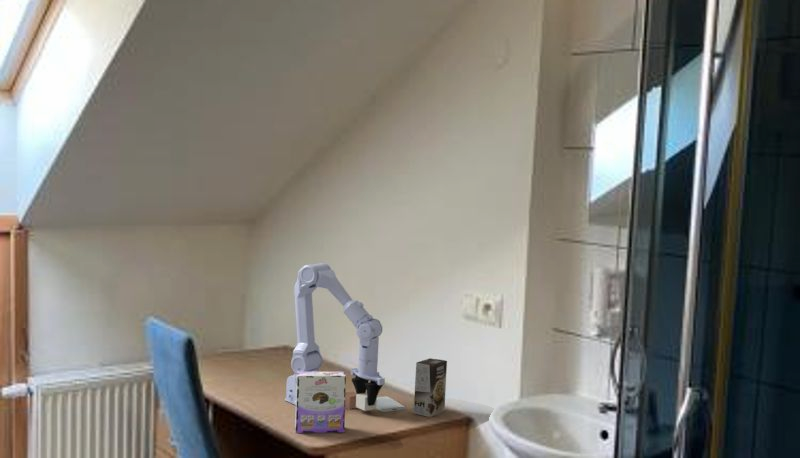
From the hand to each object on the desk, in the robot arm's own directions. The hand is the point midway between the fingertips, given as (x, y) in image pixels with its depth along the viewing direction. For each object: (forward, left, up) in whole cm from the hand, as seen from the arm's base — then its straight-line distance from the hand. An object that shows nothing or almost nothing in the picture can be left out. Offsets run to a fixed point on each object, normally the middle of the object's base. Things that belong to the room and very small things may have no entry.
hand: (366, 403), depth 260 cm
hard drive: (+10, +3, -4) cm, 11 cm away
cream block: (0, 0, -2) cm, 2 cm away
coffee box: (+17, -10, -3) cm, 20 cm away
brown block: (0, +8, -3) cm, 8 cm away
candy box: (-22, -7, -3) cm, 23 cm away
